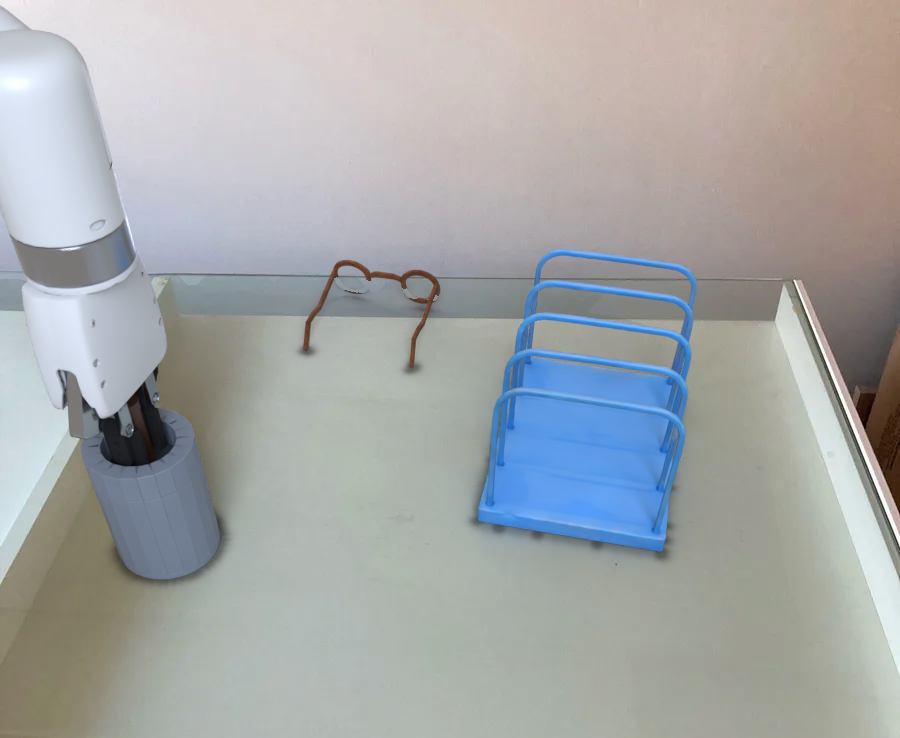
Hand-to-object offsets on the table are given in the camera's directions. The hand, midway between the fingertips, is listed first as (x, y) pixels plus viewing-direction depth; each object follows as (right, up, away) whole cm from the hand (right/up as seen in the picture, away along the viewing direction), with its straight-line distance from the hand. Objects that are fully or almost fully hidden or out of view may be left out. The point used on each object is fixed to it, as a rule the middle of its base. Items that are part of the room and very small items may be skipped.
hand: (141, 453), depth 75 cm
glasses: (+17, +19, +31) cm, 40 cm away
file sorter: (+39, +3, +17) cm, 43 cm away
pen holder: (0, -7, +8) cm, 11 cm away
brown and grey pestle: (0, -5, +6) cm, 8 cm away
